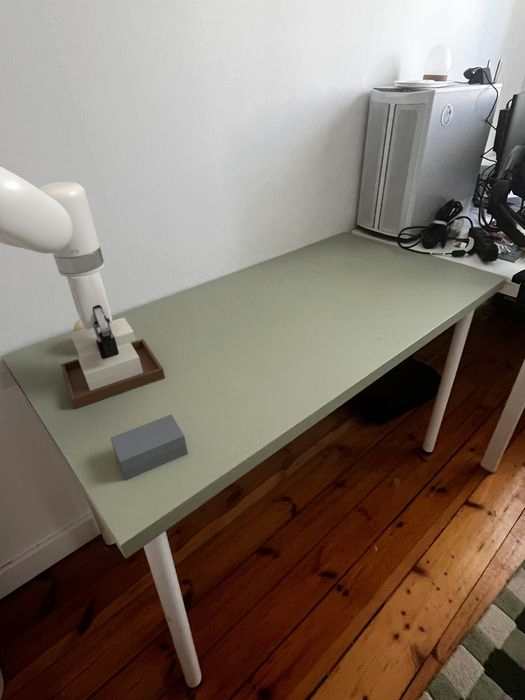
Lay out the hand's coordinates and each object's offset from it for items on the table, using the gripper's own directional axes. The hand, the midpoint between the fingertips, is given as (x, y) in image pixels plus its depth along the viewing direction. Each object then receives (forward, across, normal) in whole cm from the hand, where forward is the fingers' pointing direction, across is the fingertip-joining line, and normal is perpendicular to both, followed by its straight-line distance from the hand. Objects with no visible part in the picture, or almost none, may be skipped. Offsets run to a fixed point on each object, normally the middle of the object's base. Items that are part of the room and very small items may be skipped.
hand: (105, 346), depth 84 cm
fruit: (+7, -13, -1) cm, 15 cm away
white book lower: (+6, 0, 0) cm, 6 cm away
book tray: (+7, 0, 0) cm, 7 cm away
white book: (-1, 0, 0) cm, 1 cm away
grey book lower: (+7, +25, 0) cm, 26 cm away
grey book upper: (+5, +25, 0) cm, 26 cm away
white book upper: (+4, 0, 0) cm, 4 cm away
